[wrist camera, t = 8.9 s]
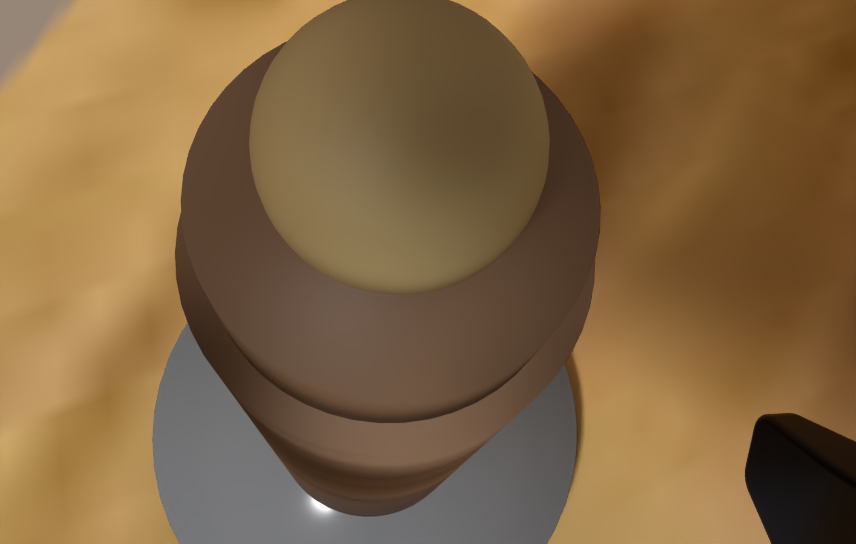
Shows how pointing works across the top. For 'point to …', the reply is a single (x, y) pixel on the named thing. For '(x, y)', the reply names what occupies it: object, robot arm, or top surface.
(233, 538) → the slate coaster
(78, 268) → the top surface
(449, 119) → the pepper mill
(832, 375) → the top surface
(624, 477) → the top surface
